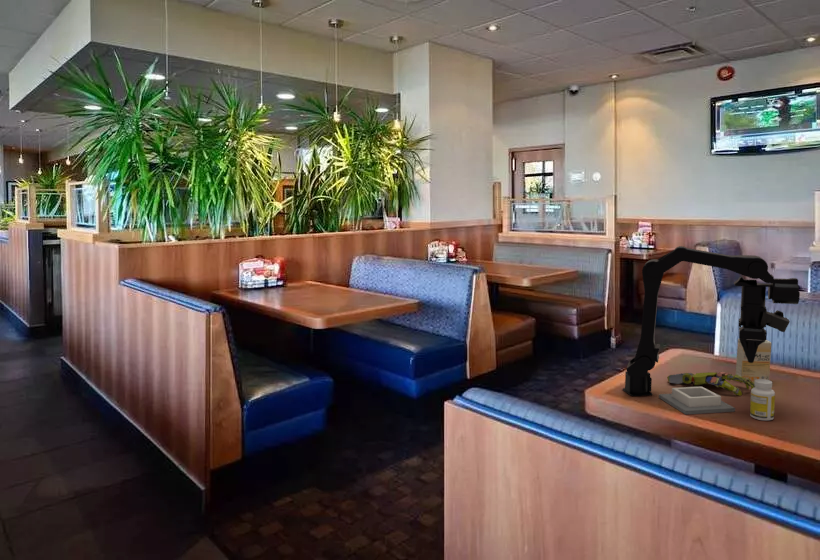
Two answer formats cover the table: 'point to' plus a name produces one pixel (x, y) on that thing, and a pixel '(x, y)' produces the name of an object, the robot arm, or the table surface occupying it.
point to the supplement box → (760, 364)
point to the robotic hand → (711, 380)
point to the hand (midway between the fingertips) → (750, 358)
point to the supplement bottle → (762, 400)
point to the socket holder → (696, 401)
